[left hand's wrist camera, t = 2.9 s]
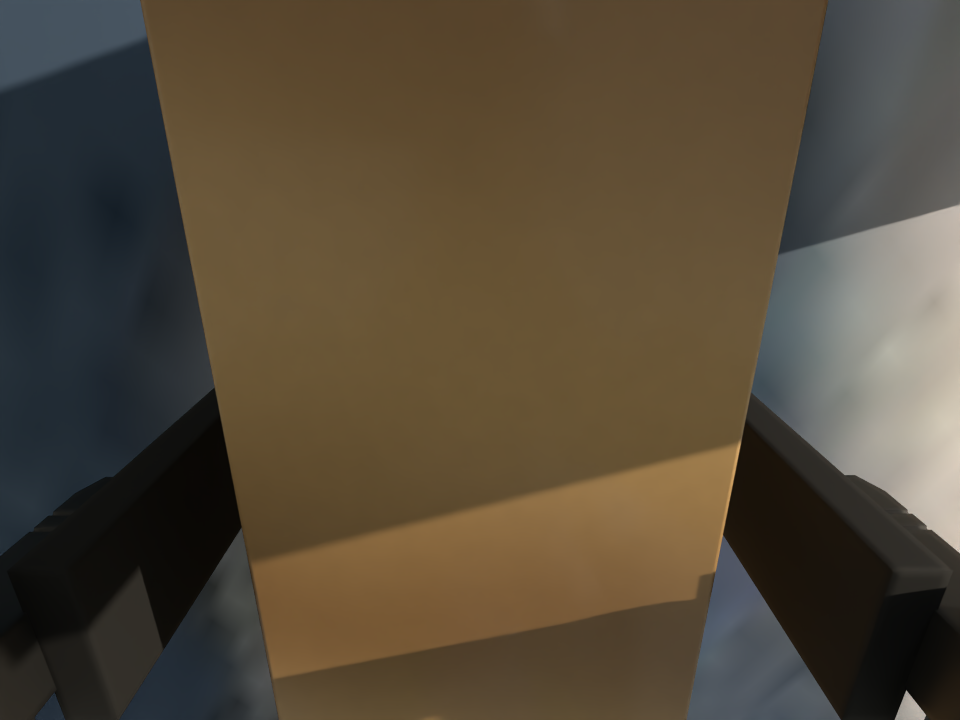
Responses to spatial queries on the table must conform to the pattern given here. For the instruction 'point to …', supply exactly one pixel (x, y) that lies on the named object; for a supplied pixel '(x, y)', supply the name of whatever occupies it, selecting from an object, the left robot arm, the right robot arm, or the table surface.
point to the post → (483, 329)
